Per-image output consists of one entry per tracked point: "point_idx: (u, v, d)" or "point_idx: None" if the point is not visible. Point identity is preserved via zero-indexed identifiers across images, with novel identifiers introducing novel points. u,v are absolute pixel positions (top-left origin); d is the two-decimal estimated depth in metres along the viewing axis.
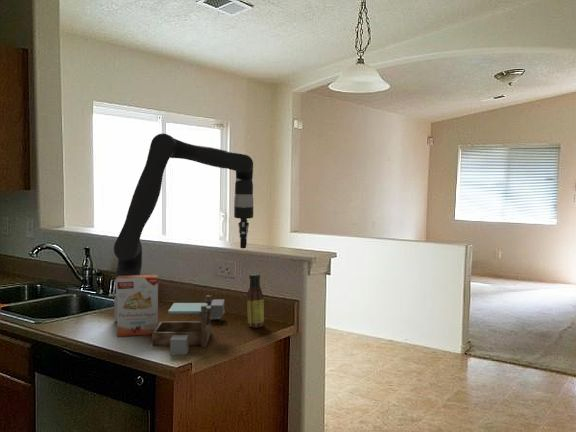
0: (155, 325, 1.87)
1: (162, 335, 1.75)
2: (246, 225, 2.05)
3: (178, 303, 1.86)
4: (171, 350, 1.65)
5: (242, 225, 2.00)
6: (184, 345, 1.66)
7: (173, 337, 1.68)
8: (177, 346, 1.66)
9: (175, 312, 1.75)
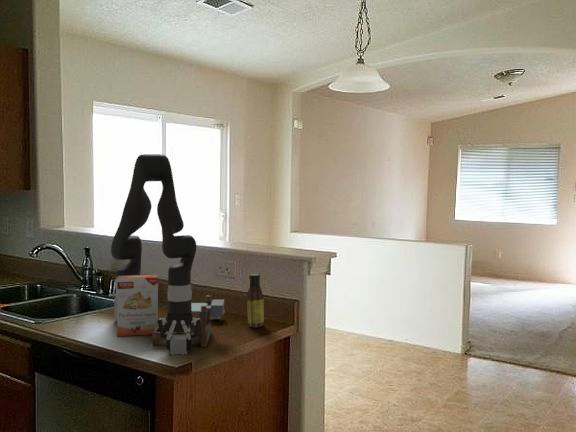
0: (155, 325, 1.87)
1: None
2: None
3: None
4: (171, 350, 1.66)
5: None
6: (184, 345, 1.66)
7: (173, 337, 1.68)
8: (177, 346, 1.66)
9: None
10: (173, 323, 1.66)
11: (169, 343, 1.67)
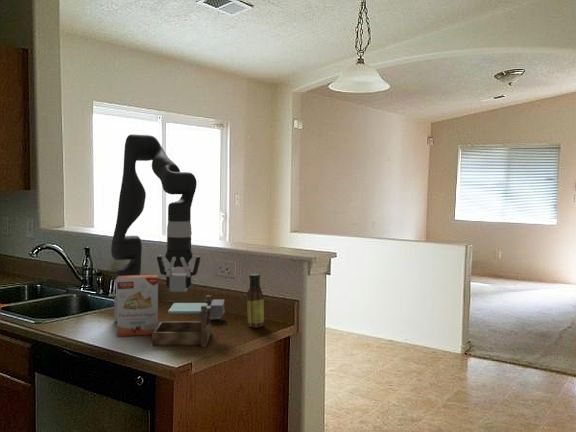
0: (155, 325, 1.87)
1: (162, 335, 1.75)
2: None
3: (178, 303, 1.86)
4: (170, 286, 1.65)
5: (199, 261, 1.67)
6: (183, 281, 1.65)
7: (172, 274, 1.67)
8: (176, 282, 1.65)
9: (175, 312, 1.75)
10: (173, 260, 1.65)
11: (168, 280, 1.66)
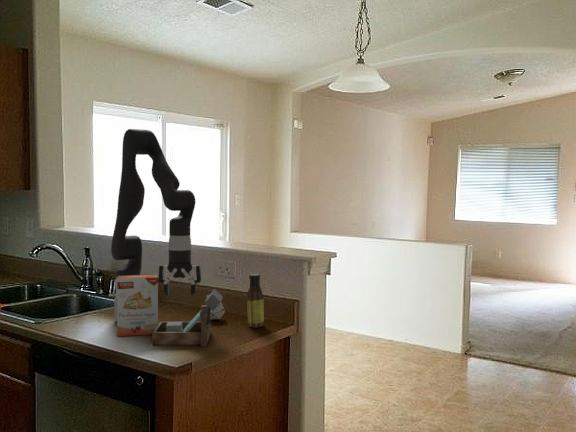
0: (155, 325, 1.87)
1: (162, 335, 1.75)
2: None
3: None
4: None
5: (200, 269, 1.81)
6: (171, 327, 1.79)
7: None
8: None
9: None
10: (173, 271, 1.78)
11: (166, 288, 1.80)
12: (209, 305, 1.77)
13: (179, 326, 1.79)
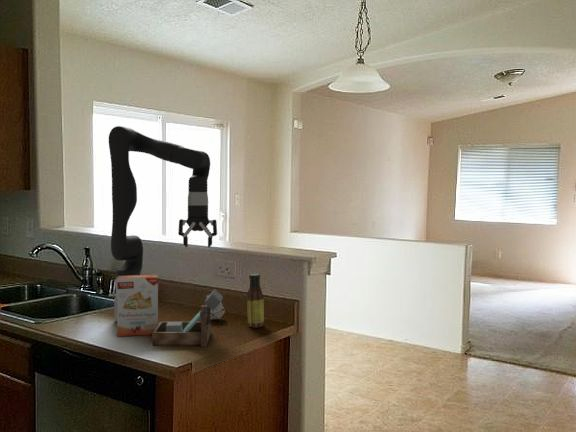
0: (155, 325, 1.87)
1: (162, 335, 1.75)
2: None
3: None
4: None
5: (216, 223, 1.98)
6: (171, 327, 1.79)
7: None
8: None
9: None
10: (192, 224, 1.96)
11: (185, 240, 1.97)
12: (209, 305, 1.77)
13: (179, 326, 1.79)
